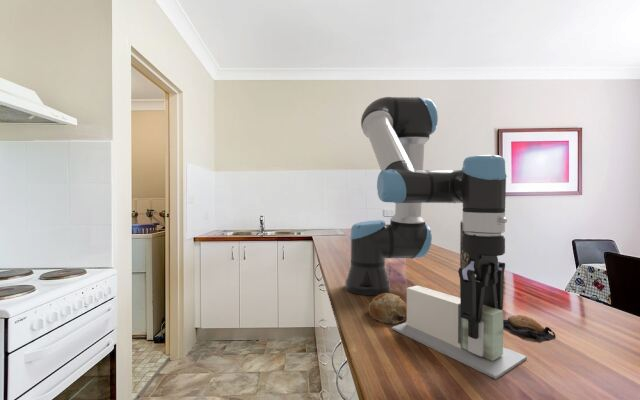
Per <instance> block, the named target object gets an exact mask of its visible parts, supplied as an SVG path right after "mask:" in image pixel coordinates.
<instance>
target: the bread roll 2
mask: <svg viewBox="0 0 640 400" xmlns="http://www.w3.org/2000/svg"><path fill="white" fill-rule="evenodd" d="M504 330H505V331H506V332H509V333H511V334H513V335H517V336H519V337H521V338H523V339H524V338H525V339H527V340H530V341H532V342H538V343H543V342H547V341H551V340H552V341H553V340H554V339H556V337H557V335H556V333H555V331H553V330H552V329H551V327H548V326H542V325H541V323H539V322H538V321H537V320H536V319H533V318H531V317H529V316H526V315H522V314H518V315H517V314H516V315H512V316H509V317H507V319H503V331H504Z"/></svg>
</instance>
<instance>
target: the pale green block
mask: <svg viewBox="0 0 640 400" xmlns="http://www.w3.org/2000/svg"><path fill="white" fill-rule="evenodd" d="M503 320H504V310H503V309H502V310H499V309H496V308H492V307H489V306H486V305H483V308H482V317H481V321H482V322H484V356H482V357H484V358H487V359H489V360H491V361H493V360H495V359H497V358H499V357H500V356H502V355H503V347H504V329H503ZM462 348H464V349H466V350H468V320H467V319H464V318H463V333H462Z"/></svg>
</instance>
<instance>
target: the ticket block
mask: <svg viewBox="0 0 640 400" xmlns="http://www.w3.org/2000/svg"><path fill="white" fill-rule="evenodd" d="M406 305H407V319H406V322H402V323H400V324H396V325H395V326H391V329H392V330H394V331H395V332H398V333H400V334H401V335H404V336H405V337H407V338H410V339H412V340H415V341H416V342H418V343H420V344H422V345H424V346H427V347H429V348H430V349H433V350H435V351H436V352H438V353H441V354H442V355H445V356H447V357H449V358H452V359H454V360H456V361H458V362H459V363H462V364H464V365H466V366H468V367H469V368H473V369H474V370H476V371H478V372H480V373H482V374H484V375H487V376H489V377H490V378H493V379H495V380H497V379H499V378H500V377H502V376H503V375H505V374H506V373H508V372H509V371H511V370H513V369H514V368H515V367H516V366H519V365H521V363H523V362H524V361H526V360H528V356H527V355H525V354H522V353H519V352H517V351H515V350H512V349H509V348H507V347H504V346H503V355H502V356H500V357H499V358H497V359H495V360H493V361H491V360H489V359H487V358H484V357H481V356H479V355H476V354H474V353H472V352H470V351H468V350H466V349H464V348H462V333H463V318H462V317H461V302H460V297H458V296H455V295H451V294H449V293H445V292H441V291H438V290H434V289H430V288H428V287H424V286H421V285H413V286H409V287H406Z"/></svg>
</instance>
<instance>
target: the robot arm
mask: <svg viewBox="0 0 640 400" xmlns="http://www.w3.org/2000/svg"><path fill="white" fill-rule="evenodd" d="M360 118H361V119H360V125H361V130H362V132H363V135H364V136H365V137H366V138H368V139H369V142H370V145H371V148H372V151H373V153H374V156H375V158H376V161H377V164H378V166H379V169H380V172H379V173H378V176H377V181H376V189H377V196H378V198H379V200H380V201H382V202H384V203H394V204H395V209H394V212H395V213H394V214H393V216H392V217H391V218H390V223H388V224H386V221H385V220H381V219H377V220H367V221H360V222H356V223H354V224H353V225H352V226H351V228H350V229H351V230H350V237H349V239H350V267H349V271H348V274H347V278H346V279H345V290H346V291H348V292H349V293H352V294H356V295H362V296H378V295H380V294H382V293H390V291H391V283H390V280H389V278H388V274H387V271H386V267H385V265H386V264H385V263H386V259H409V260H410V259H411V260H413V259H420V258H423V257H425V256H427V254H428V253H429V251H430V249H431V246H432V240H433V239H432V230H431V227H430V226H429V225H428V224H426V220H425V218H424V217H423V215H422V205H423V204H425V203H426V204H430V203H431V204H436V203H437V204H443V203H444V204H462V230H463V231H465V233H464V235H462V249H463V251H464V252H466V253H468V255H469V257H468V261H467V267H466V268H465V269H464V268H460V267H459V269H458V270H457V271H458V276H459V298H460V302H461V317H462V318H464V319H467V320H468V351H470V352H472V353H474V354H476V355H479V356H481V357H482V356H484V322H482V321H481V317H482V308H483V305H486V306H489V307H492V308H496V309H499V310H502V311H503V308H504V278H505V276H504V273H505V269H506V263H505V262H502V261H499V259H498V257H499V256H503V255H505V253H506V237H505V235H502V234H504V233H505V232H506V223H507V222H508V219H507V218H506V198H507V197H506V196H507V195H506V192H507V190H506V189H507V177H508V176H507V173H506V160H505V158H504V157H503V156H501V155H497V154H495V155H494V154H483V155H482V154H481V155H480V154H479V155H473V156H471V155H470V156H468V157H466V158H464V160H463V162H462V168H461V169H458V170H456V169H455V170H444V169H443V170H439V169H438V170H429V169H428V170H426V169H425V170H424V156H425V145H426V143H427V142H428V141H429V140H430V135H432V134H434V133H435V131H436V129H437V125H438V118H439V115H438V109H437V106H436V105H435V103H434V101H433V100H431V99H430V98H425V97H418V96H417V97H416V96H415V97H409V96H408V97H405V96H404V97H403V96H402V97H401V96H400V97H398V96H395V97H394V96H393V97H392V96H385V97H379V98H378V99H375V100H374V101H372V102H371V103H370V104H369V105H367V106H366V108H365V109H364V111H363V113H362V115H361V117H360ZM476 280H477V281H476ZM478 281H480V282H478Z"/></svg>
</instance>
